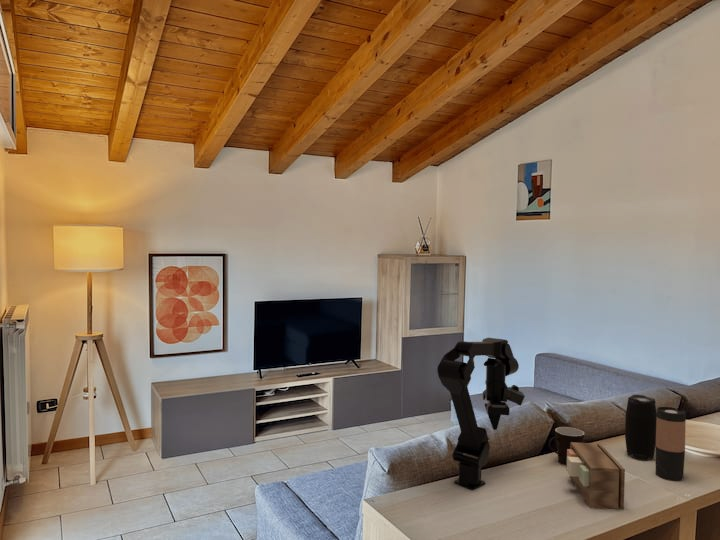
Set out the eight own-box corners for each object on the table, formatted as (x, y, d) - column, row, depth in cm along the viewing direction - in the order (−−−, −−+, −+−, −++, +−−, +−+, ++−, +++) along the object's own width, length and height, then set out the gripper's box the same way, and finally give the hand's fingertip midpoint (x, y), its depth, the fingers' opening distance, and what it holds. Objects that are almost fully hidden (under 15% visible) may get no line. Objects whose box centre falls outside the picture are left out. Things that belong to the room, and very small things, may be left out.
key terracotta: (570, 468, 154) (570, 454, 154) (566, 462, 158) (567, 449, 158) (592, 469, 153) (592, 455, 153) (587, 463, 157) (588, 450, 157)
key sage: (583, 486, 142) (583, 471, 142) (579, 479, 146) (579, 465, 146) (607, 487, 141) (607, 472, 141) (602, 480, 145) (602, 466, 145)
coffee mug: (578, 458, 175) (579, 427, 174) (587, 468, 166) (588, 436, 166) (542, 456, 176) (542, 426, 176) (548, 466, 167) (549, 435, 167)
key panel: (590, 507, 140) (591, 467, 140) (569, 477, 159) (570, 442, 159) (623, 509, 140) (624, 469, 139) (599, 479, 158) (599, 443, 158)
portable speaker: (662, 460, 174) (663, 400, 173) (638, 462, 171) (639, 402, 171) (641, 450, 182) (643, 393, 181) (618, 452, 180) (620, 395, 179)
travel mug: (656, 478, 159) (658, 412, 158) (653, 469, 166) (655, 405, 165) (686, 483, 156) (688, 415, 155) (681, 473, 163) (683, 408, 163)
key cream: (570, 476, 148) (570, 462, 148) (566, 470, 152) (566, 456, 152) (593, 477, 147) (593, 463, 147) (588, 471, 151) (588, 457, 151)
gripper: (527, 387, 155) (526, 441, 155) (518, 373, 173) (517, 421, 174) (488, 386, 156) (487, 439, 157) (482, 372, 175) (482, 419, 175)
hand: (494, 429), depth 165 cm, fingers closed
